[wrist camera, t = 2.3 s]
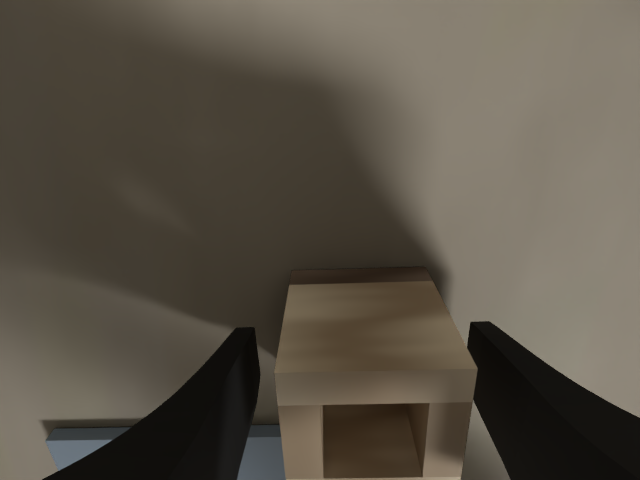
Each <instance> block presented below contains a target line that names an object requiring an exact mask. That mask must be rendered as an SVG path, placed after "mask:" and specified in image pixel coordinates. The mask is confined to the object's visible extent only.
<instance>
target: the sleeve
mask: <svg viewBox="0 0 640 480" xmlns="http://www.w3.org/2000/svg"><path fill="white" fill-rule="evenodd" d="M477 370H478V368H477V366H476V364H475V362H474V361H473V359H472V357H471V355H470V353H469V351H468V349H467V347H466V345H465V343H464V341H463V339H462V337H461V335H460V333H459V331H458V329H457V327H456V325H455V323H454V322H453V320H452V318H451V316H450V314H449V312H448V310H447V308H446V306H445V304H444V302H443V300H442V298H441V296H440V294H439V292H438V290H437V288H436V286H435V284H434V283H433V281H432V279H431V277H430V275H429V273H428V271H427V269H426V267H395V268H360V269H326V270H292V272H291V278H290V284H289V289H288V295H287V301H286V307H285V313H284V318H283V324H282V330H281V336H280V342H279V348H278V353H277V359H276V365H275V371H274V376H275V385H276V395H277V404H278V413H279V422H280V431H281V440H282V449H283V458H284V467H285V476H286V480H461V474H462V467H463V461H464V454H465V448H466V441H467V435H468V428H469V422H470V415H471V409H472V402H473V396H474V389H475V383H476V376H477Z"/></svg>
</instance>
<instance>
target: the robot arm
mask: <svg viewBox="0 0 640 480" xmlns="http://www.w3.org/2000/svg"><path fill="white" fill-rule="evenodd" d="M467 349H468V351H469V353H470V355H471V357H472V359H473V361H474V362H475V364H476V366H477V368H478V370H477V376H476V383H475V389H474V396H473V400H474V402H475V404H476V406H477V409H478V411H479V413H480V415H481V417H482V419H483V421H484V423H485V426H486V428H487V430H488V432H489V434H490V436H491V438H492V440H493V442H494V444H495V446H496V449H497V451H498V453H499V455H500V457H501V459H502V461H503V463H504V465H505V468H506V470H507V472H508V475H509V477H510V479H511V480H640V418H639V417H637V416H635V415H633V414H631V413H629V412H627V411H625V410H623V409H621V408H619V407H617V406H615V405H613V404H611V403H610V402H608V401H606V400H604V399H602V398H601V397H599V396H597V395H595V394H594V393H592V392H590V391H588V390H587V389H585V388H583V387H582V386H580V385H578V384H577V383H575V382H574V381H572V380H571V379H569V378H568V377H566V376H564V375H563V374H561V373H560V372H558V371H557V370H555V369H554V368H552V367H551V366H550V365H548V364H547V363H545V362H544V361H542V360H541V359H540V358H538V357H537V356H535V355H534V354H533V353H531V352H530V351H529V350H527V349H526V348H525V347H523V346H522V345H520V344H519V343H518V342H517V341H515V340H514V339H513V338H511V337H510V336H509V335H507V334H506V333H505V332H503V331H502V330H501V329H499V328H498V327H497V326H495V325H494V324H492V323H491V322H489V321H487V322H471V323H470V330H469V337H468V345H467ZM259 383H260V367H259V359H258V352H257V344H256V336H255V328H254V327H243V328H236V329H235V330H234V331H233V332H232V333H231V334H230V335H229V336H228V338H227V339H226V340H225V341H224V342H223V344H222V345H221V346H220V347H219V348H218V349H217V350H216V352H215V353H214V354H213V355H212V356H211V357H210V358H209V359H208V360H207V362H206V363H205V364H204V365H203V366H202V367H201V368H200V369H199V370H198V371H197V372H196V373H195V374H194V375H193V376H192V377H191V378H190V379H189V380H188V381H187V382H186V383H185V384H184V385H183V386H182V387H181V388H180V389H179V390H178V391H177V392H176V393H175V394H174V395H172V396H171V397H170V398H169V399H168V400H167V401H165V402H164V403H163V404H162V405H160V406H159V407H158V408H157V409H156V410H154V411H153V412H152V413H150V414H149V415H148V416H146V417H145V418H143V419H142V420H141V421H139V422H138V423H137V424H135V425H134V426H132V427H131V428H130V429H128V430H127V431H125V432H124V433H122V434H121V435H119V436H118V437H116V438H115V439H113V440H112V441H110V442H109V443H107V444H105V445H104V446H102V447H100V448H99V449H97V450H95V451H94V452H92V453H90V454H89V455H87V456H85V457H83V458H82V459H80V460H78V461H76V462H74V463H72V464H71V465H69V466H67V467H65V468H63V469H61V470H59V471H57V472H56V473H54V474H52V475H50V476H48V477H46V478H44V479H42V480H237V477H238V473H239V468H240V465H241V461H242V457H243V453H244V450H245V446H246V442H247V438H248V435H249V431H250V427H251V423H252V419H253V415H254V412H255V408H256V404H257V397H258V390H259Z"/></svg>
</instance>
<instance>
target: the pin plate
mask: <svg viewBox="0 0 640 480" xmlns="http://www.w3.org/2000/svg"><path fill="white" fill-rule="evenodd" d="M130 428H131V427H120V428H63V429H54V430H53V431H52V433H51V434H50V435H49V437H48V438H47V439H46V440H45V442H46V444H47V446H48V448H49V450H50V453H51V455H52V457H53V459H54V462H55V464H56V466H57V468H58V471H59V470H61V469H63V468H65V467H67V466H69V465H71V464H72V463H74V462H76V461H78V460H80V459H82V458H83V457H85V456H87V455H89V454H90V453H92V452H94V451H95V450H97V449H99V448H100V447H102V446H104V445H105V444H107V443H109V442H110V441H112V440H113V439H115V438H116V437H118V436H119V435H121V434H122V433H124V432H125V431H127V430H128V429H130ZM237 480H286V476H285V467H284V458H283V449H282V440H281V431H280V425H251V427H250V431H249V435H248V438H247V442H246V446H245V450H244V453H243V457H242V461H241V465H240V468H239V473H238V477H237Z"/></svg>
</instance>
